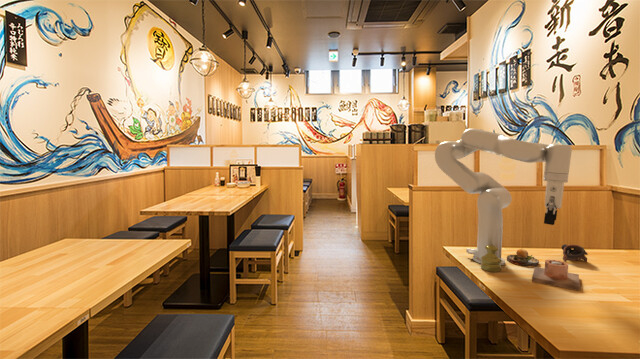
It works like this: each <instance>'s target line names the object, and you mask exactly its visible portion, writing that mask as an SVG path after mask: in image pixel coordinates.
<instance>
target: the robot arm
mask: <svg viewBox="0 0 640 359" xmlns="http://www.w3.org/2000/svg"><path fill="white" fill-rule="evenodd" d="M572 150H573V148H572V145H569V144H559V143H558V144H554V143H552V144H546V143H541V142H540V143H539V142H530V141H529V142H528V141H523V140H519V139H516V138H515V139H514V138H512V137H511V138H510V137H508V136H506V135H505V134H502V133H497V132H493V131H492V132H491V131H488V130H484V129H481V128H472V127H471V128H467V129H465V130H464V131H462V134H461V136H460V139H459V140H457V141H452V140H451V141H450V140H448V141H447V140H446V141H443V142H441V143H439V144H438V145H437V146H436V148H435V151H434V160H435V163H436V165H437V167H438V168H439V170H441V171H442V172H443V173H445V175H446V176H448V177H449V179H451V180H452V181H453V182H454V183H455V184H457V185H458V186H459V187H460V188H461V189H462V190H463V191H464V192H465V193H467V194H471V195H476V194H478V197H477V201H476V203H477V204H476V205H477V213H478V216H477V219H478V220H477V241H476V244H477V245H476V248H474V249H473V248H468V247H466V253H467V254H468V255H473V256H472V260H473V261H474V262H475V263H477V264H481V262H482V260H481V257H482V256H484V255H485V254H487V253H488V251H487V250H486V249H485V246H487V245H494V246H496V247H498V248H499V250H497V251H496V252H495V254H496V255H497V256H498V257H499V258H500V259H501V263H500V264H501V266H503V265H505V264H506V260H505V259H504V258H502V249H503V248H502V247H503V246H502V245H503V227H504V217H503V209H505V208H508V207H509V206H510V204H511V203H512V200H513V199H512V195H511V193H510V191H509V190H508V189H507V188H506V187H504V186H503V185H502V184H501V183H499V182H498V181H497V180H495V179H494V178H493V177H492V176H490V175H489V174H487V173H485V172H481V171H479V172H478V171H477V172H476V171H473V170H472V169H470V168H469V167H468V166H466V165H465V164H464V163H463V162H461V161H459V160H460V159H463V158H466V157H467V156H470V155H471V154H473V153H475V152H477V151H482V152H485V153H489V154H493V155H496V156H501V157H504V158H508V159H512V160H516V161H520V162H523V163H528V164H529V163H530V164H531V163H545V164H544V170H543V172H544V173H543V181H544V182H546V186H545V195H544V197H545V198H544V206H545V208H546V209H545V213H544V219H543V224H544V225H550V226H554V225H555V222H556V221H557V216H558V215H557V214H558V210H557V209H559V210H560V209H561V208H562V205H563V204H562V203H563V198H564V197H563V195H564V187H565V183H568V181H569V172H570V166H571V159H572V158H571V157H572V152H573V151H572Z"/></svg>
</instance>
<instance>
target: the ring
mask: <svg viewBox="0 0 640 359" xmlns="http://www.w3.org/2000/svg"><path fill="white" fill-rule="evenodd" d="M552 262H560V263H561V265H556V264H552ZM544 268H545V271H544V275H546V276H547V277H550V278H554V279H562V280H564V279H567V276H568V273H569V263H567V262H565V261H561V260H557V259H546V260H544Z"/></svg>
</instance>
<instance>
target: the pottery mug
mask: <svg viewBox="0 0 640 359" xmlns="http://www.w3.org/2000/svg"><path fill="white" fill-rule="evenodd" d="M561 249H562V254H563V257H562V260H563V262H565V263H567V261H570V262H571V261H572V262H573V261H575V262H577V261H581V260H583V261H584V262H586V263H587V262H588V257H587V256H588V255H589V253H588V252H586V250H585V248H584V247H583V246H581V245H579V244H565V243H564V244H563V245H561Z"/></svg>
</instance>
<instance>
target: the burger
mask: <svg viewBox="0 0 640 359" xmlns="http://www.w3.org/2000/svg"><path fill="white" fill-rule="evenodd" d="M515 253H516V254H509V255H507V256H506V261H507V262H510V263H511V264H513V265H516V266H520V265H522V267H528V266H535V267H537V266H539V265H540V263H539V262H540V261H539V259H537V258H535V256H533V255H529V252H528V251H527V250H526V249H523V248H519V249H517V250H516V252H515ZM536 265H537V266H536Z"/></svg>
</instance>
